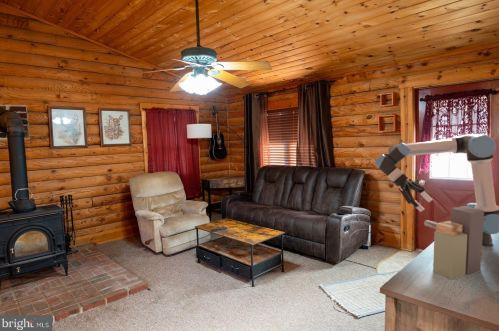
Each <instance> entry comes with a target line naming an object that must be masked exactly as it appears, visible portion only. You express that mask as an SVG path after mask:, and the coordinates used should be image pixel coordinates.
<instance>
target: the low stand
mask: <svg viewBox="0 0 499 331" xmlns="http://www.w3.org/2000/svg"><path fill="white" fill-rule="evenodd" d="M433 234H434V238H433V240H434V241H433V263H432V265H433V266H432V268H433V269H432V272H434V273H437V274H439V275H441V276H442V277H445V278H447V279H449V280H455V279H458V278H461V277H466V274H465V270H466V251H467V234H464V233H461V234H457V235H452V236H448V235H445V234H442V233H439V232H436V230H434V233H433Z"/></svg>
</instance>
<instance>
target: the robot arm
mask: <svg viewBox="0 0 499 331" xmlns="http://www.w3.org/2000/svg"><path fill="white" fill-rule="evenodd" d="M496 149H497V144H496V141H495V140H494V138H493V137H491V136H489V135H486V134H483V133H469V134H464V135H458V136H452V137H451V138H448V139H441V140H440V139H439V140H431V141H422V142H421V141H420V142H410V143H404V142H400V143H399V144H392V145H389V147H388V150H387V152H388V153H387V154H384V153H383V154H381V155H380V156H378V158H376V159H375V160H374V164H375V166H376V167H377V168H378V169H379V170H380V171H381V172H382V173H383V174H384V175H385V176H387V178H388V179H389V180H390V181H391V182H393V184H395V185H394V186H396V187H399V188H398V191H399V192H400V193H401V196H403V198H404V199H405V201H406V202H407V204H408V205H410V204H412V206H414V207H415V208H416V210H418V211H419V212H420V213H422V212H423V211H425V207H423V206H422V205H421V203H419V201H418V200H416V199H414V196H413V194H412V191H415V192H417V193H419V195H420V196H421V197H423V198H424V200H425V201H426V202H428V203H431V201H434V199H433V198H432V197H431V196H430V195H429V194H428V193H427V192H426V191H425V190H426V188H424V187H423V186H422V185H421V184H419V183H417V182H415V181H414V180H412V179H411V178H409V179H408V176H407V175H406V174H405V173H403V171H402V170H401V169H400V168H399V167H398V166H396V165H398V164H399V163H400V162H401V161H402V160H404V159H405V158H406V157H414V156H423V155H434V154H442V153H443V154H444V153H453V154H466V160H467V162H469V163H470V164H471V165H470V166H471V172H472V181H473V189H474V194H475V202H469V203H466V206H467V207H471V208H475V209H480V210H484V221H483V238H482V247H486V246H491V245H493V243H494V242H493V238H492V235H497V234H499V205H497V203H496V194H495V187H494V186H495V185H494V178H493V171H492V170H493V169H492V163H491V162H492V161H493V159H495V158H494V153H495V151H496ZM411 190H412V191H411Z"/></svg>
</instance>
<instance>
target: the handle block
mask: <svg viewBox="0 0 499 331" xmlns="http://www.w3.org/2000/svg"><path fill="white" fill-rule="evenodd" d="M423 225H424V226H425V227H428V228H431V229H435V231H436V232H439V233H442V234H445V235H448V236H452V235H457V234H461V233H462V226H463V225H461V224H457V223H454V222H451V220H447V221H441V222H436V221H433V220H429V219H426V220H424V221H423Z"/></svg>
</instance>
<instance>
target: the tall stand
mask: <svg viewBox="0 0 499 331" xmlns="http://www.w3.org/2000/svg"><path fill="white" fill-rule="evenodd" d="M483 221H484V210H480V209H475V208H471V207H467V205H462V206H457V207H456V206H455V207H451V209H450V222H454V223H457V224H461V225H463V226H462V233H464V234H467V251H466V270H465V276H469V275H472V274H476V273H479V272H481V271H482V270H481V268H482V252H483V246H482V238H483Z"/></svg>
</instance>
